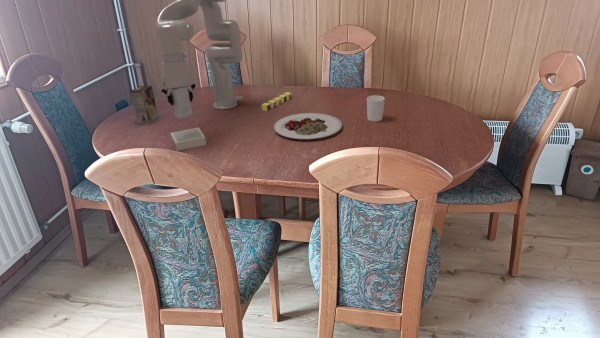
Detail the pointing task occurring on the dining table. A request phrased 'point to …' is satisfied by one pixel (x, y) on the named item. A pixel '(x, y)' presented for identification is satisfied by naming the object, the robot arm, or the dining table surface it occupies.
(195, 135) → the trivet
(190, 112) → the skincare box
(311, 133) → the plated food
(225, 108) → the robot arm
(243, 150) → the dining table surface
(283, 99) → the yellow segmented block row
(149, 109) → the coffee box
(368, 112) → the white cup
